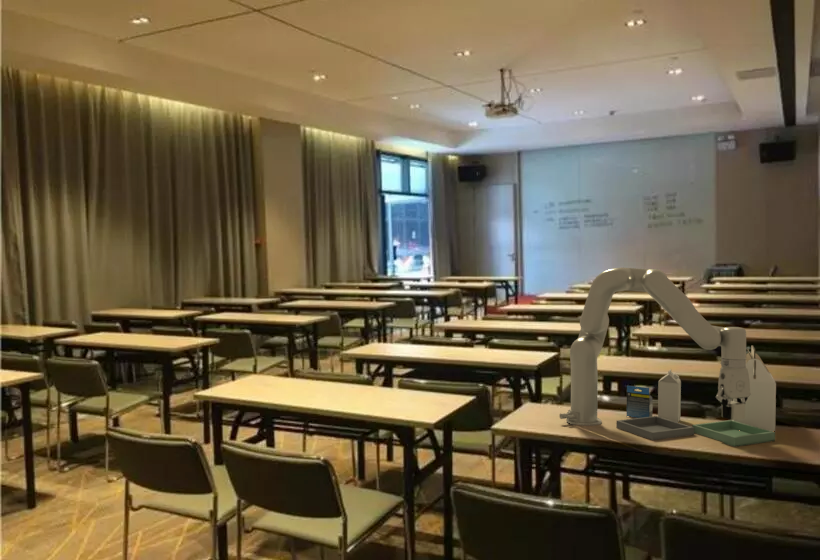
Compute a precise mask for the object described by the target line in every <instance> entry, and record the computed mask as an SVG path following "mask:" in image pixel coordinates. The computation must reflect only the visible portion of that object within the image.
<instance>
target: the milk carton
mask: <svg viewBox="0 0 820 560" xmlns="http://www.w3.org/2000/svg"><path fill="white" fill-rule="evenodd" d="M657 383H658V386H657V394H658V395H657V401H658V402H657V416H658V417H661V418H665V419H668V420H671V421H675V422H679V423H680V421H681V410H682V409H681V407H682V406H681V399H682V395H681V394H682V393H681V392H682V391H681V390H682V388H681V387H682V380H681V379H680V376H679V375H678V374H677V373H673V372H672V368H670V369H669V370H668V373H667V374H665V375H664V376H662V377H661V378H660V379H659V380H658V382H657Z"/></svg>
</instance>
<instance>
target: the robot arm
mask: <svg viewBox="0 0 820 560" xmlns="http://www.w3.org/2000/svg"><path fill="white" fill-rule="evenodd" d="M625 291H626V292H627V291H629V292H640V293H641V292H644V293H645V292H646V293H647V294H649V296H650V297H651V298H652V299H653V300H654V301H655V302H656V303H657V304H658V305H659V306H660V307H661V308H662V309H663V310H664V311H665V312H666V313H667V314H668V315H669V316H670V317H671V318H672V320H673V321H675V323H677V324H678V325H679V327H680V328H682V330H683V331H684V332H685V333H686V334H687V335H688V336H689V337H690V338H691V339H692V340H693V341H694V342H695V343H696V344H697V345H698V346H699V347H700V348H702V349H704V350H708V351H711V350H715V349H717V348H718V347H721V350H720V351H721V355H720V356H721V360H720V366H721V367H720V370H719V374H718V383H717V384H718V385H717V390H718V391H717V393H716V396H715V398H716V400H718V402H719V404H720V405H721V417H722V416H723V417H722V418H723V419H724V418H725V419H728V420H732V419H731V407H730V404H731V401H732V399H736V402H739V403H743V404H746V403H745V402H746V401H747V399H748V397H749V396H750V395H751V393H750V380H749V373H748V369H747V368H746V354H747V331H746V329H745V328H744V327H739V326H726V327H725V326H724V327H723V326H718V325H712V324H711V323H710V322H709V321H707V320H706V319H705V318H704V317H703V316H702V314H701V313H700V312H699V311H698V310H697V308H696V307H695V306H694V304H693V302H692V301H691V300H690V298H689V297H688V296H687V295H686V294H685V293H684V292H683V291H682V290H681V289H680V288H679V287H678V286H676V285H675V283H674V282H672V280H670V279H669V277H668V275H667V274H666V272H664V271H663V270H661V269H658V268H657V269H655V268H653V269H652V268H650V269H649V268H636V267H635V268H634V267H615V268H610V269H608V270H607V269H606V270H604V271H603V272H601V273H600V274H598V275H597V276H596V277H595V278H594V279H593V281H592V283H591V285H590V288H589V291H588V294H587V296H586V300H585V303H584V305H583V310H582V313H581V315H580V319H579V326H580V330H579V334H578V337H577V339H575V340H574V341H573V342H572V344H571V345H570V348H569V349H570V350H569V359H570V360H569V361H570V409H567V412H564V413H563V412H562V413H559V419H561V420H565V419H566V420H565V421H566V423H567V424H569V423H570V425H573V426H583V427H584V426H588V427H590V426H591V427H592V426H599V425H601V424H602V422H603V421H602V419H601V418H598V395H599V394H598V387H599V386H598V385H599V384H598V383H599V382H598V379H599V378H598V373H599V372H598V356H600V354H601V353H602V349H603V346H604V342H605V340H606V339H605V338H606V336H607V331H608V330H609V329H608V328H609V325H610V324H609V323H610V318H609V315H608V313H609V309H610V306H611V303H612V299H613V297H614V294H615V293H617V292H625ZM739 398H740V399H739Z"/></svg>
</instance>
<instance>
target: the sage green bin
mask: <svg viewBox="0 0 820 560" xmlns="http://www.w3.org/2000/svg"><path fill="white" fill-rule="evenodd" d="M691 427H694V434H697V435H699V436H702V437H706V438H710V439H712V440H716V441H719V442H721V443H723V444H725V445H727V446H730V447H733V448H736V447H744V446H748V445H757V444H763V443H771V441H772V442H776V431H775V432H773V431H769V430H766V429H762V428H758V427H754V426H751V425H747V424H743V423H740V422H736V421H732V419H728V420H721V421H712V422H704V423H697V424H696V423H695V424H691ZM739 430H740V431H739Z"/></svg>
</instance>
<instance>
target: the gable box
mask: <svg viewBox="0 0 820 560" xmlns="http://www.w3.org/2000/svg"><path fill="white" fill-rule="evenodd" d="M746 351H747V352H746V368H747V369H748V373H749V380H750V393H751V395H750V396H749V397H748V399H747V401H746V402H745V403H746V404H745V419H738V420H732V419H731V420H732V421H736V422H740V423H743V424H747V425H751V426H754V427H758V428H762V429H766V430H769V431H775V432H776V412H777V411H776V408H777V407H776V405H777V404H776V403H777V398H776V395H777V382H776V380H775V378H774V377H773V374H772V373H771V372H770V370H769V369H768V367H767V366H766V364H765V363H764V362H763V360H762V358H761V357H760V356H759V354H758V353H756V348H755V347H754V345H751V350H749V348H748V347H746ZM739 399H740V398H739ZM731 401H735V402H736V399H731Z"/></svg>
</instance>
